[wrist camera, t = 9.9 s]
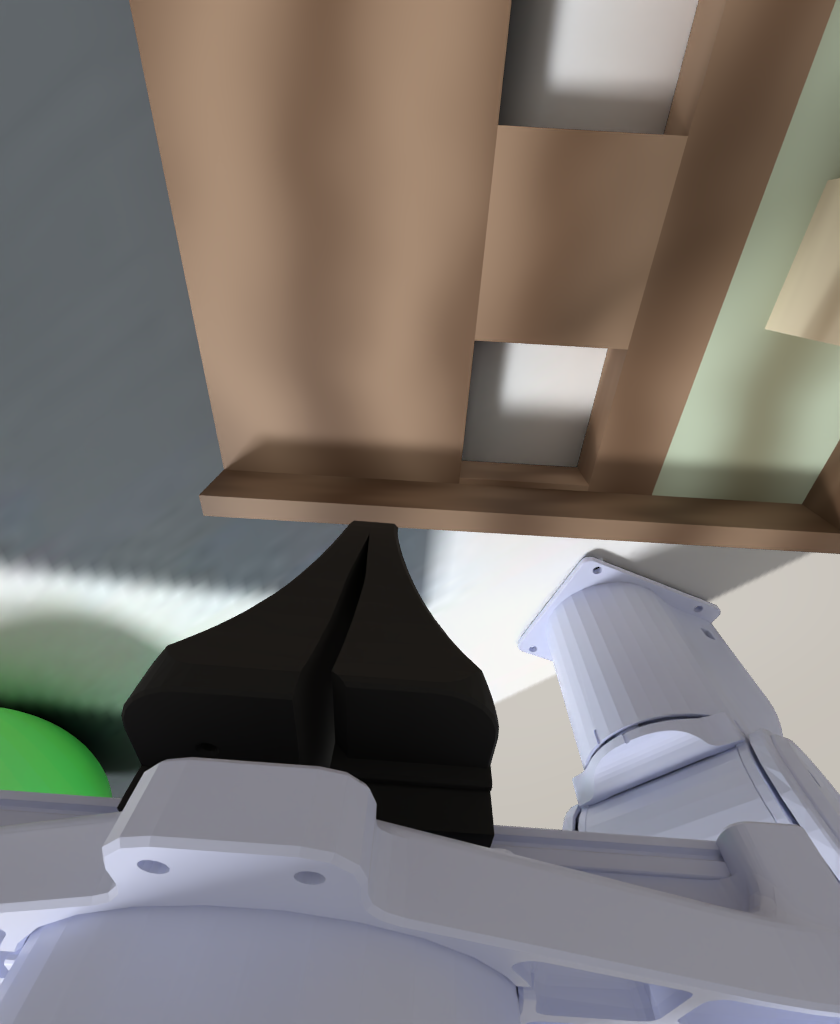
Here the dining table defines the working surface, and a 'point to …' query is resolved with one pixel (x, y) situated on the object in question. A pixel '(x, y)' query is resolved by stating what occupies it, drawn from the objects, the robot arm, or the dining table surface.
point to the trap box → (499, 268)
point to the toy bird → (46, 758)
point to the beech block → (814, 277)
